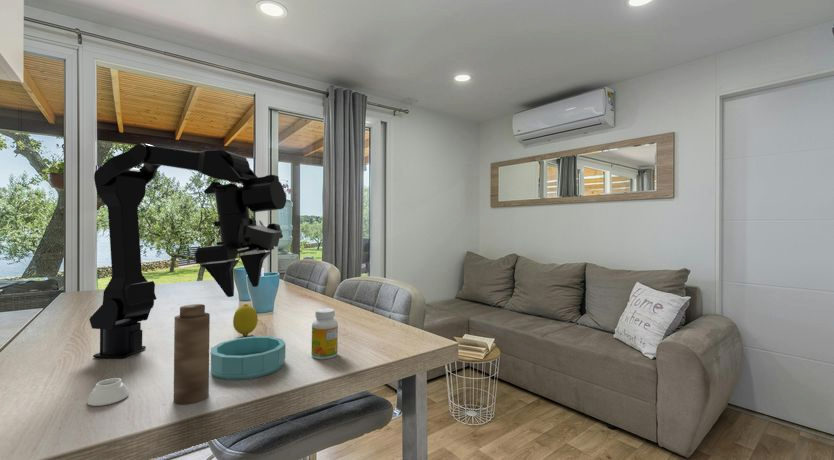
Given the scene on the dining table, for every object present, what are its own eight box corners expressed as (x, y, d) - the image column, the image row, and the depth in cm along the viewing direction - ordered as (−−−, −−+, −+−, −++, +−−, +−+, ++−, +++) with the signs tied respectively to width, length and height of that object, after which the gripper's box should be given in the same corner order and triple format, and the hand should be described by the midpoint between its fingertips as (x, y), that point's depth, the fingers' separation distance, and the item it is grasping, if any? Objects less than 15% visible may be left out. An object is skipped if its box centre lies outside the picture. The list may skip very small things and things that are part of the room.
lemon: (248, 340, 90) (248, 306, 90) (227, 338, 91) (228, 305, 91) (262, 333, 96) (262, 302, 96) (242, 332, 97) (243, 301, 97)
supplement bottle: (306, 355, 80) (307, 309, 80) (328, 349, 84) (328, 306, 84) (320, 362, 76) (321, 314, 76) (342, 355, 80) (343, 310, 80)
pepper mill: (166, 404, 58) (167, 309, 57) (185, 390, 62) (186, 303, 62) (197, 404, 58) (198, 309, 57) (214, 391, 62) (215, 303, 62)
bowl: (195, 379, 67) (196, 356, 67) (232, 354, 80) (232, 335, 80) (268, 380, 67) (268, 358, 67) (293, 355, 80) (293, 336, 80)
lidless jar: (115, 407, 57) (135, 393, 62) (115, 388, 57) (136, 375, 62) (78, 408, 56) (102, 394, 61) (78, 389, 56) (102, 375, 61)
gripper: (247, 211, 65) (258, 299, 66) (291, 210, 84) (300, 279, 85) (187, 217, 66) (199, 304, 67) (244, 215, 85) (253, 283, 86)
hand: (243, 291), depth 76 cm, fingers open, 9 cm apart
